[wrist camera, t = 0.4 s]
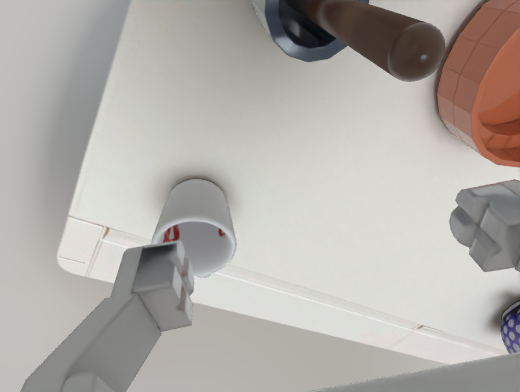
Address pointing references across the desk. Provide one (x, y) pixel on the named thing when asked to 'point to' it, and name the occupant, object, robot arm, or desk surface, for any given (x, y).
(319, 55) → the crock
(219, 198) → the cup
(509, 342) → the teapot
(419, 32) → the stick
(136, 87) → the desk surface
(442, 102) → the bowl
